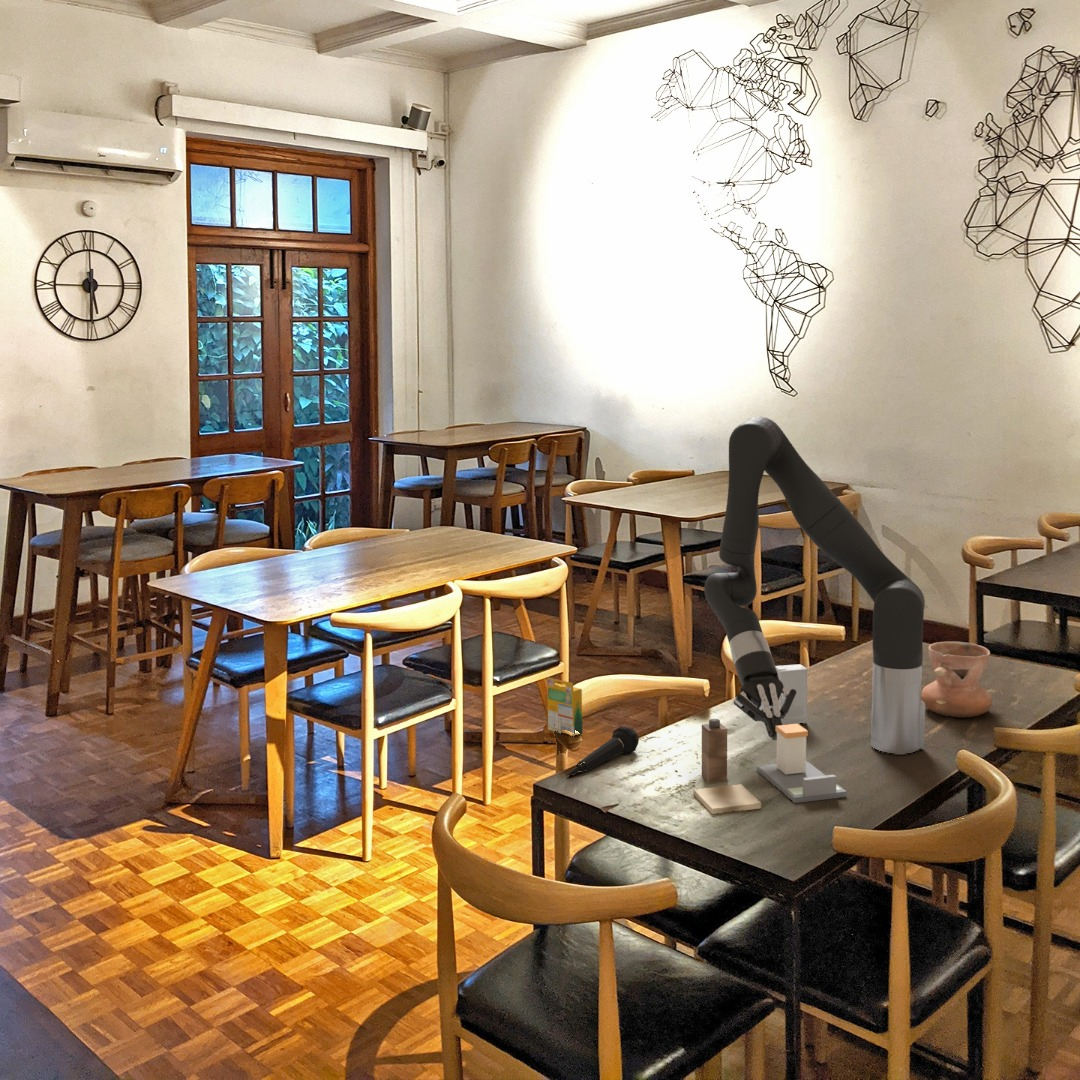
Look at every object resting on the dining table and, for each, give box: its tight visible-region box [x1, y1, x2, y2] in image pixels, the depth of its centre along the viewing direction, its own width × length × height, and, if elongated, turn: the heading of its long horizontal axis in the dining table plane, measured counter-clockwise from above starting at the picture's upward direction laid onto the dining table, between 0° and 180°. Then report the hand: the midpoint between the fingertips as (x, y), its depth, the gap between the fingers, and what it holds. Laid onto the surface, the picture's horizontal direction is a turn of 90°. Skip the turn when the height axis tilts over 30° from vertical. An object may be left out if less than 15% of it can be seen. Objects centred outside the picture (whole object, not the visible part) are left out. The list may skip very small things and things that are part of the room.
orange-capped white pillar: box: [775, 724, 809, 774], centre depth 219 cm, size 4×4×8 cm
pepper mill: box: [701, 718, 728, 783], centre depth 219 cm, size 4×4×11 cm
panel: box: [756, 760, 848, 804], centre depth 216 cm, size 10×16×4 cm, turn 13°
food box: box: [546, 676, 583, 738], centre depth 246 cm, size 7×3×12 cm, turn 48°
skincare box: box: [775, 663, 808, 725], centre depth 249 cm, size 6×4×12 cm
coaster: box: [693, 783, 762, 815], centre depth 209 cm, size 9×9×1 cm
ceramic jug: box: [921, 641, 993, 718], centre depth 253 cm, size 18×14×14 cm
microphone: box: [566, 726, 640, 776], centre depth 229 cm, size 6×6×20 cm
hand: (778, 738), depth 225 cm, fingers closed
